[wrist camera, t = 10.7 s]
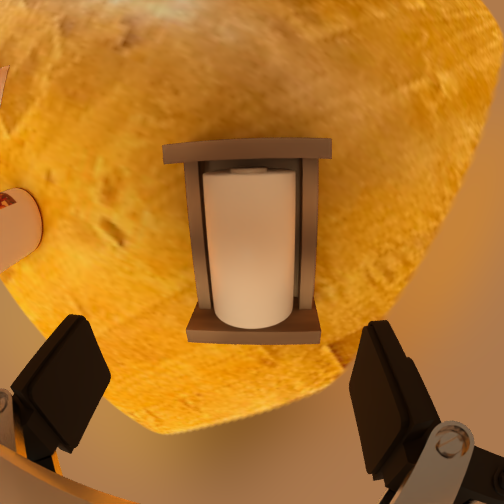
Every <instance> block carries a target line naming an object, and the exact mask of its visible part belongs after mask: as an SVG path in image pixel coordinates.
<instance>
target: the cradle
mask: <svg viewBox="0 0 504 504" xmlns="http://www.w3.org/2000/svg"><path fill="white" fill-rule="evenodd" d="M162 148H163V162H164V164H172V163H183V162H184V171H185V184H186V196H187V207H188V218H189V228H190V238H191V247H192V255H193V264H194V272H195V280H196V288H197V295H198V302H197V305H196V307H195V309H194V312H193V314H192V316H191V319H190V321H189V324H188V326H187V328H186V333H187V338H188V342H197V343H217V344H254V345H287V344H320V337H321V328H320V323H319V319H318V314H317V310H316V305H315V301H314V283H315V266H316V247H317V222H318V158H323V159H332V139H329V138H245V139H225V140H210V141H197V142H186V143H176V144H167V145H162ZM243 166H264V167H273V168H285V169H291V170H295V173H296V198H295V260H294V290H293V309H292V312H291V314H290V315H289V316H288V317H287V318H286V319H285V320H284V321H282V322H280V323H278V324H276V325H273V326H270V327H265V328H258V329H245V328H238V327H234V326H231V325H229V324H226V323H225V322H223V321H221V320H220V319H219V318H218V317H217V316H216V314H215V311H214V303H213V293H212V284H211V274H210V263H209V252H208V241H207V229H206V217H205V203H204V189H203V174H204V173H206V172H210V171H215V170H222V169H230V168H234V167H243Z"/></svg>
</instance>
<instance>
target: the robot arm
mask: <svg viewBox="0 0 504 504" xmlns="http://www.w3.org/2000/svg"><path fill="white" fill-rule="evenodd" d="M110 379H111V374H110V371H109V369H108V367H107V364H106V362H105V360H104V358H103V355H102V353H101V351H100V348H99V346H98V344H97V341H96V339H95V336H94V334H93V331H92V329H91V326H90V323H89V322H88V321H87V320H86V318H85V317H84V316H82V315H73V314H70V315H68V316H67V317H66V318H65V319H64V320H63V321H62V323H61V324H60V325H59V326H58V327H57V328H56V330H55V331H54V332H53V333H52V334H51V336H50V337H49V338H48V339H47V340H46V342H45V343H44V344H43V345H42V346H41V348H40V349H39V350H38V351H37V353H36V354H35V355H34V356H33V358H32V359H31V360H30V361H29V363H28V364H27V365H26V367H25V368H24V369H23V370H22V372H21V373H20V374H19V376H18V377H17V378H16V380H15V381H14V382H13V384H12V385H11V389H12V390H13V392H14V395H13V396H12V395H11V393H10V392H9V391H8V390H6V389H0V504H139V503H136V502H132V501H129V500H125V499H122V498H119V497H115V496H112V495H109V494H106V493H103V492H101V491H98V490H95V489H92V488H90V487H87V486H85V485H82V484H80V483H77V482H75V481H72V480H70V479H68V478H65V477H63V475H62V471H61V468H60V464H59V461H58V457H57V453H56V448H57V446H58V447H59V448H60V449H61V450H63V451H65V452H68V453H70V454H71V453H72V451H73V449H74V448H76V447H77V446H78V444H79V442H80V440H81V438H82V436H83V434H84V432H85V429H86V428H87V425H88V423H89V421H90V419H91V417H92V415H93V413H94V411H95V409H96V407H97V405H98V403H99V401H100V399H101V397H102V396H103V394H104V392H105V390H106V388H107V386H108V384H109V382H110ZM349 391H350V396H351V400H352V405H353V409H354V413H355V418H356V422H357V427H358V431H359V436H360V440H361V446H362V451H363V456H364V460H365V465H366V471H367V473H368V474H372V475H373V480H374V481H375V480H380V479H384V482H385V487H387V489H386V490H385V492H384V494H383V495H382V497H381V498H380V500H379V501H378V503H377V504H504V457H501V456H499V455H496V454H494V453H491V452H489V451H486V450H484V449H481V448H479V447H476V446H474V437H473V434H472V432H471V430H470V429H469V428H468V427H467V426H466V425H464V424H462V423H460V422H457V421H445V422H443V423H441V421H440V418H439V416H438V414H437V411H436V409H435V407H434V405H433V402H432V400H431V398H430V396H429V394H428V391H427V389H426V387H425V385H424V383H423V380H422V378H421V377H420V374H419V372H418V370H417V368H416V366H415V364H414V362H413V360H412V359H411V358H409V357H406V355H405V353H404V351H403V349H402V347H401V345H400V343H399V341H398V339H397V337H396V335H395V333H394V331H393V330H392V328H391V326H390V324H389V322H388V321H387V320H381V321H371V322H369V324H368V326H364V327H363V330H362V335H361V339H360V343H359V348H358V352H357V356H356V360H355V364H354V368H353V371H352V375H351V379H350V383H349Z"/></svg>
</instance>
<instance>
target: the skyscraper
mask: <svg viewBox="0 0 504 504" xmlns="http://www.w3.org/2000/svg"><path fill="white" fill-rule="evenodd" d="M9 66H10V65H8V66H5V67H3V68H0V105H1V99H2V94H3V89H4V84H5V80H6V76H7V71H8V68H9Z"/></svg>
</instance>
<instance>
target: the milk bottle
mask: <svg viewBox="0 0 504 504" xmlns="http://www.w3.org/2000/svg"><path fill="white" fill-rule="evenodd" d="M41 235H42V221H41V216H40V212H39V209H38V206H37V204H36V202H35V201H34V199H33V198H32V196H31V195H30V194H29V193H28V192H26V191H25V190H22V189H19V188H13V189H9V190H6V191H3V192H0V273H1V272H3V271H4V270H6V269H7V268H9V267H10V266H12V265H13V264H15V263H16V262H18V261H19V260H21V259H22V258H24V257H25V256H27V255H29V254H30V253H31V252H33V251H34V250H35V249H36V248H37V246H38V244H39V242H40V239H41Z"/></svg>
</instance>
